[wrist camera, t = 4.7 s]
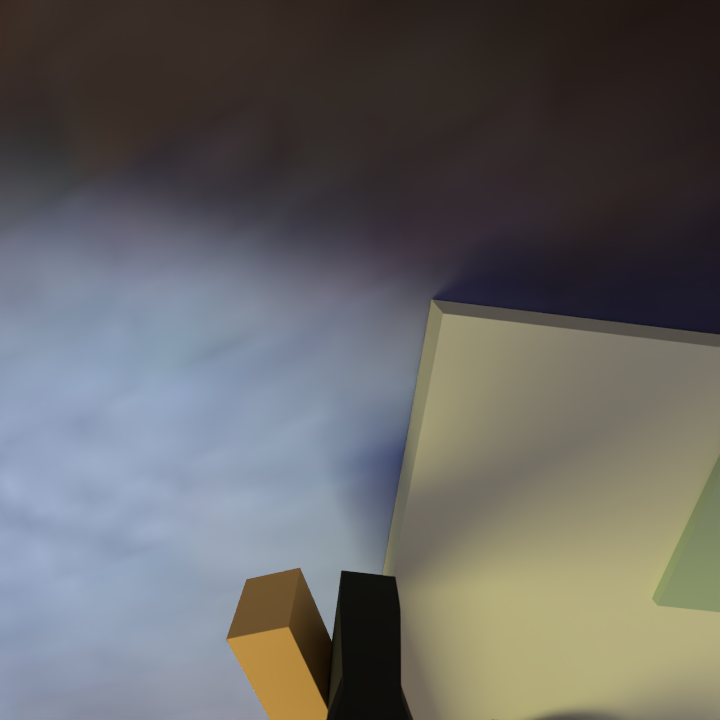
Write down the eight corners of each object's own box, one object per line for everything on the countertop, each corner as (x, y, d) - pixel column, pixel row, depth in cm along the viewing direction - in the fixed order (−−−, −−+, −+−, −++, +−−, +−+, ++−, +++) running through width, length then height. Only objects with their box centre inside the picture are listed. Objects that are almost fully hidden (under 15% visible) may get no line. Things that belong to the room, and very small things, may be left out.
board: (1015, 370, 10) (1210, 415, 7) (672, 865, 17) (719, 964, 15) (431, 299, 9) (451, 323, 7) (336, 834, 16) (331, 930, 14)
